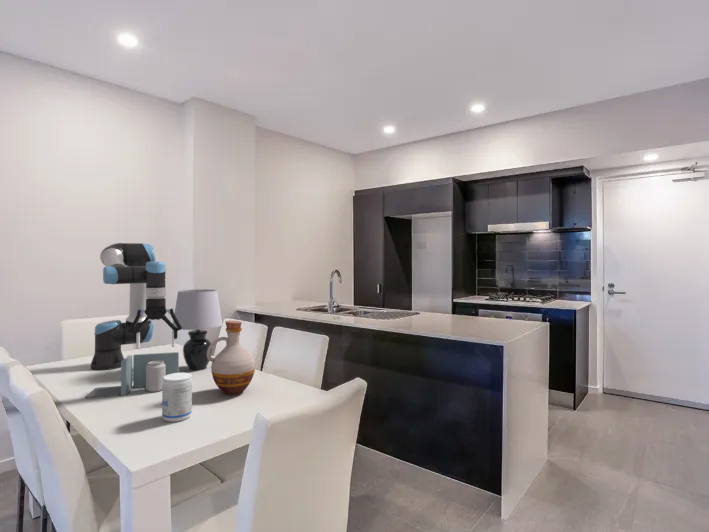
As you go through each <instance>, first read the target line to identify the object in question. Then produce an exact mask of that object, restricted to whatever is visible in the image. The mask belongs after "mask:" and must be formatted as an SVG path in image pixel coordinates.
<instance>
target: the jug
mask: <svg viewBox="0 0 709 532" xmlns="http://www.w3.org/2000/svg"><path fill="white" fill-rule="evenodd" d="M242 323H243V321H241V320H225V326H226V328H225V332H226V336H227V337H226V336H221V337H218V338H216V339H214V340H213V341H212V342H211V344H210V346H209V348H208V350H207V358H208V360H209V362H211V364H210V365H211V367H210V371H211V375H212V379H213V381H214V384H215V385H216V387H217V388H218V389H219V390H220V391H221V392H222V393H223V394H224V395H226V396H237V395H240V394H242V393H244V391H245V390H247V388H248V387H249V385H250V384H251V382H252V380H253V377H254V374H255V370H256V360H255V358H254V356H253V355H252V354H251V353H250V352H249V351H248V350H246V348H244V347H243V345H242V344H241V343H240V337H241V331H242V330H243V329H242V328H243V327H242ZM221 341H225V343H226V345H225V346H224V347H223V349H222V350H221V351H220V352H218V353H217V354H216V355H215V357H212V355H210V354H211V349H212V350H213V348H214V346H215V345H216V344H217V343H219V342H221Z"/></svg>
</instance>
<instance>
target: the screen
mask: <svg viewBox="0 0 709 532" xmlns="http://www.w3.org/2000/svg"><path fill="white" fill-rule="evenodd" d="M151 361H164V364H165V365H166V375H168V374H173V373H180V369H179V366H180V362H179V361H180V355H179V351H173V352H155V353H154V352H153V353H135V354H133V355H131V354H130V355H126V357H124V360H122V361H121V367H120V386H121V394H120V397H122V396H123V397H125V396H127V394H128V393H129V392H130V390H131V389H132V388H141V387H142V388H143V387H146V366H147V365H148V363H149V362H151Z"/></svg>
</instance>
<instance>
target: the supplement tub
mask: <svg viewBox="0 0 709 532" xmlns="http://www.w3.org/2000/svg"><path fill="white" fill-rule="evenodd" d="M192 376H193V375H192V373H189V372H179V373H173V374H168V375H166V376H164V377H163V386H162V396H161V397H162V398H161V399H162V401H161V402H162V404H161V405H162V409H161V412H162V413H161V416H162V420H163V421H165V422H170V423H175V422H181V421H184V420H187V419H188V418H190V417H191V415H192V413H193V412H192V411H193V410H192V406H193V404H192V403H193V377H192Z"/></svg>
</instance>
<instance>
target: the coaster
mask: <svg viewBox="0 0 709 532" xmlns="http://www.w3.org/2000/svg"><path fill="white" fill-rule="evenodd" d="M119 396H121V385H115V386H114V385H113V386H100V387H99V386H98V387H94V388H93V389H92V390H91V391H90V392H89V393H88V394H86V396H85V398H84V399H93V398H104V397H105V398H106V397H119Z"/></svg>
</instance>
